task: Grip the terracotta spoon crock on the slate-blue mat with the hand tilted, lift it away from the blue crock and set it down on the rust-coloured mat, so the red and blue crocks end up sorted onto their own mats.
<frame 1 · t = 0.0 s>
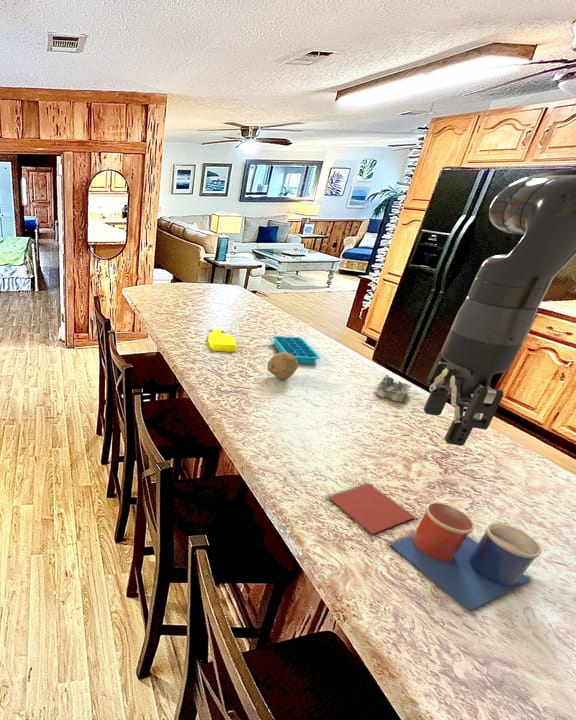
hand: (441, 427, 61), 27 cm above the countertop, tool pointing down, fingers open, 8 cm apart
blue crock: (492, 569, 69), resting on blue mat
ice cube tray: (293, 353, 152), on the countertop
natural sponge: (278, 379, 133), on the countertop
yellow lump: (220, 340, 164), on the countertop
blue mat: (456, 562, 70), on the countertop
rust mat: (370, 507, 82), on the countertop
terracotta crock: (432, 547, 73), resting on blue mat
egg carton: (391, 394, 124), on the countertop
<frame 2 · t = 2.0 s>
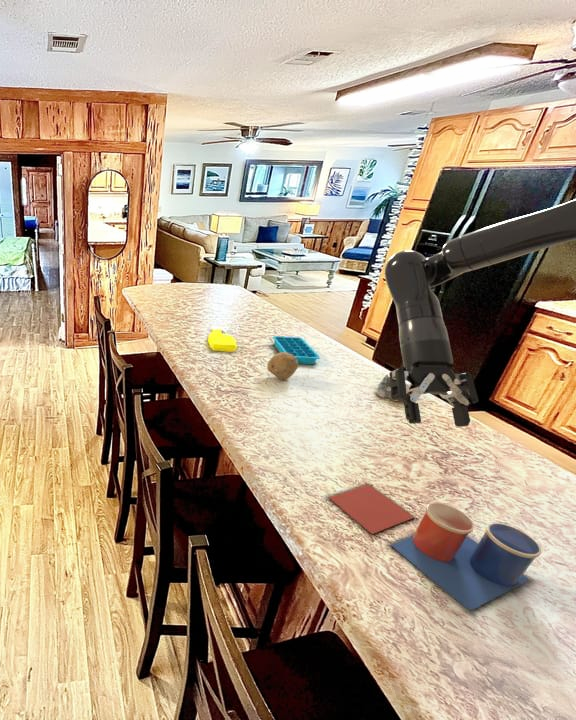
hand: (438, 424, 73), 21 cm above the countertop, tool tilted 40°, fingers open, 8 cm apart
nothing on the countertop moved.
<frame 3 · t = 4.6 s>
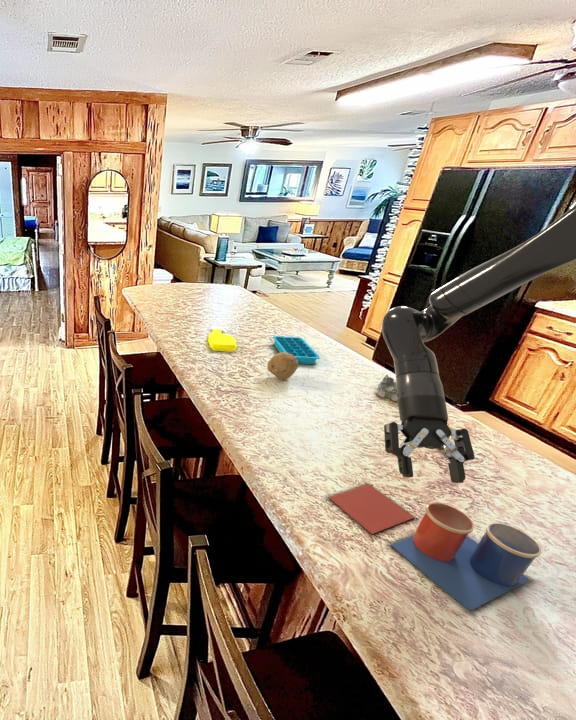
hand: (432, 479, 74), 11 cm above the countertop, tool tilted 45°, fingers open, 8 cm apart
nothing on the countertop moved.
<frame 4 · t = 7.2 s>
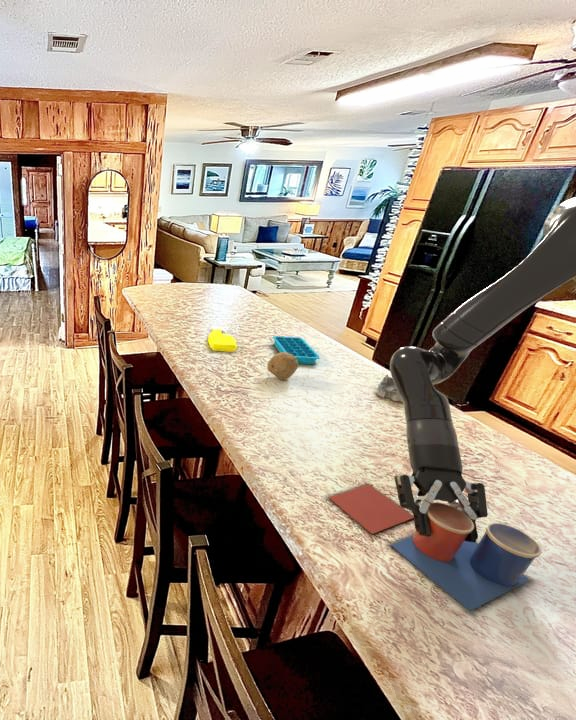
hand: (447, 538, 69), 4 cm above the countertop, tool tilted 45°, fingers closed on terracotta crock, 6 cm apart
terracotta crock: (432, 547, 73), resting on blue mat, touching gripper
everything else where it was.
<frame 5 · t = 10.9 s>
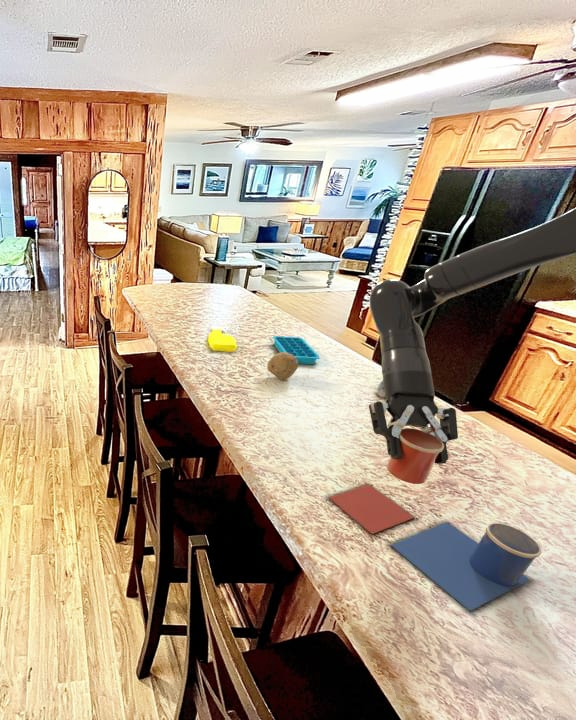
hand: (418, 460, 71), 16 cm above the countertop, tool tilted 45°, fingers closed on terracotta crock, 6 cm apart
terracotta crock: (405, 472, 74), point 12 cm above the countertop, touching gripper
everything else where it was.
when the fingers open (4 cm above the countertop, at t = 14.9 s): terracotta crock stays where it is, resting on rust mat.
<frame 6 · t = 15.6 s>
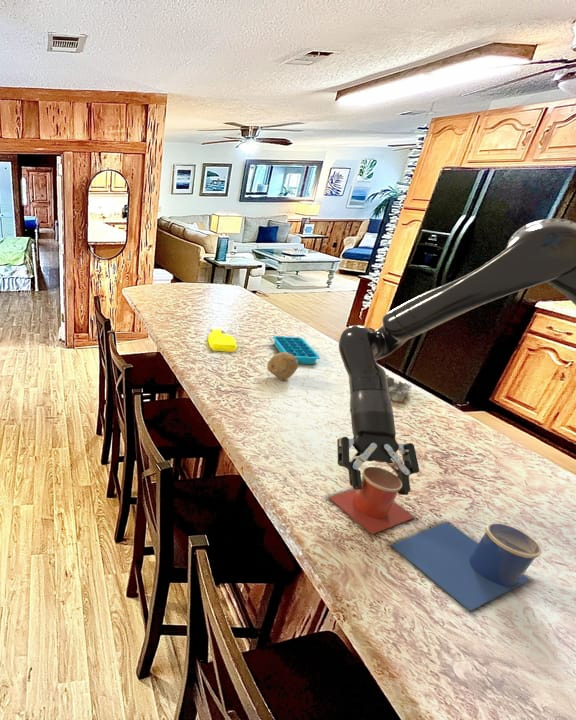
hand: (380, 492, 78), 5 cm above the countertop, tool tilted 45°, fingers open, 8 cm apart
terracotta crock: (370, 506, 82), resting on rust mat
everything else where it was.
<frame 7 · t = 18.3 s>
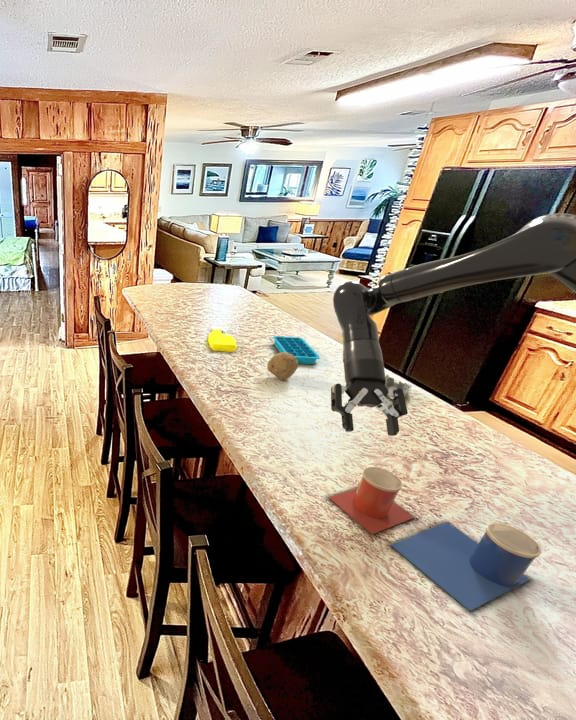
hand: (371, 433, 83), 13 cm above the countertop, tool tilted 45°, fingers open, 8 cm apart
nothing on the countertop moved.
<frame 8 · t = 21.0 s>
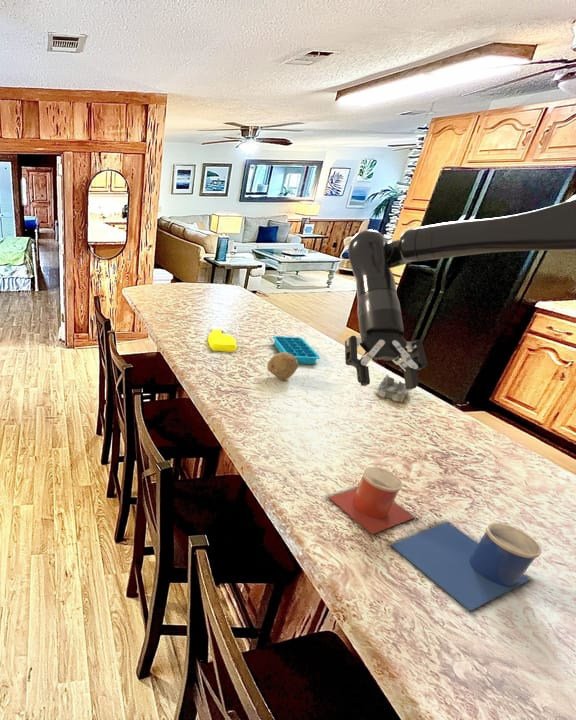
hand: (388, 386, 78), 25 cm above the countertop, tool tilted 45°, fingers open, 8 cm apart
nothing on the countertop moved.
at the end: terracotta crock inside the target area (0.1 cm from its centre), resting on rust mat; terracotta crock tilted 0°; blue crock moved 0.0 cm from its start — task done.
